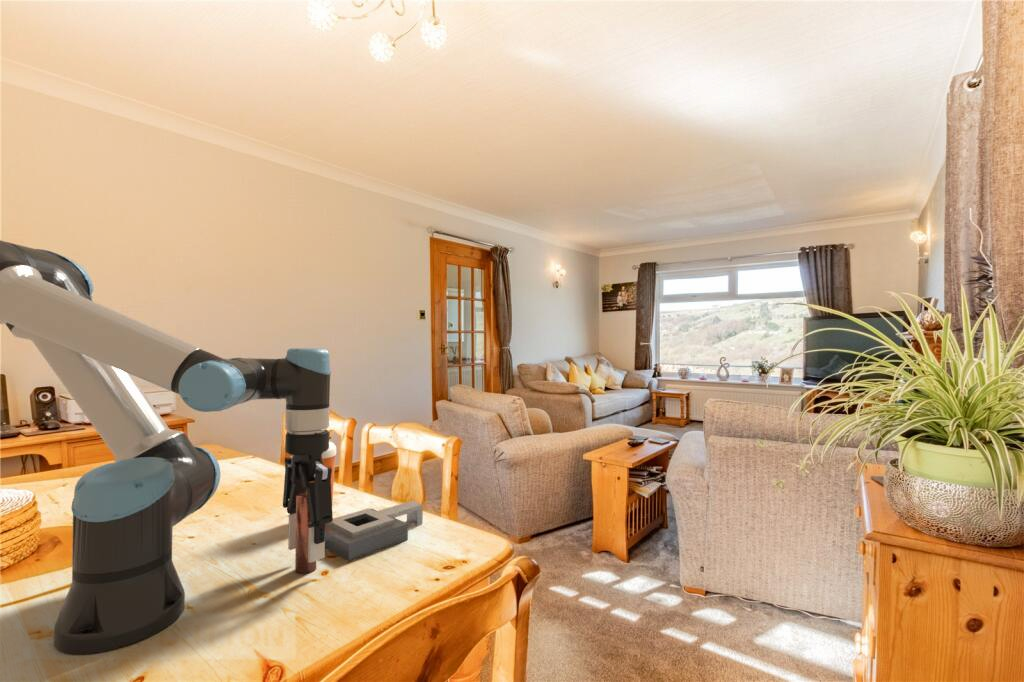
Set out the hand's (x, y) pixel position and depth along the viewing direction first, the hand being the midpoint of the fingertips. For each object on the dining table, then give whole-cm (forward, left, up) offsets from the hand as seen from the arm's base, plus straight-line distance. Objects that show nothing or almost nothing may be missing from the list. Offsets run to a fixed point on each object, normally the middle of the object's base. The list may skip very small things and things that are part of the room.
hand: (306, 553), depth 88 cm
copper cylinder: (0, 0, -3) cm, 3 cm away
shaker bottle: (+13, +22, -3) cm, 26 cm away
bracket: (+19, +4, -3) cm, 20 cm away
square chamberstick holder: (+14, +4, -3) cm, 15 cm away
